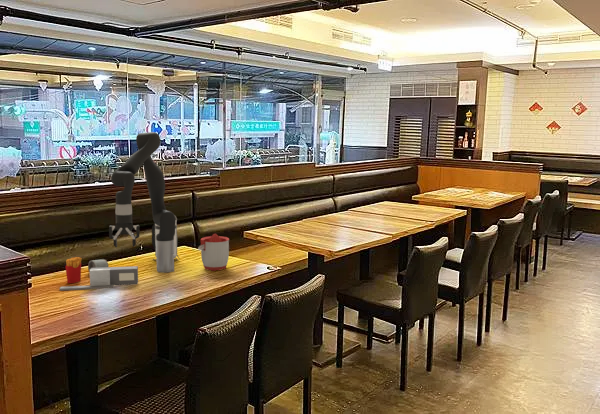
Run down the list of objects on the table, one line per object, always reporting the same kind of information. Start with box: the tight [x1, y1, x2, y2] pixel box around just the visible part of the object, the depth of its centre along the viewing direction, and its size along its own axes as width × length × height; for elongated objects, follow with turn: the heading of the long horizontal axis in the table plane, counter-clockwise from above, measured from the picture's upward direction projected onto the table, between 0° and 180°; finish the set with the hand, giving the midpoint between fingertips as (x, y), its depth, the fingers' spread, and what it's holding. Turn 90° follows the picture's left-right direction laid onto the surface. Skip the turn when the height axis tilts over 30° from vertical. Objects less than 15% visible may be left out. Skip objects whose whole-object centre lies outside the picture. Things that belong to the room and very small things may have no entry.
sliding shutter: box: [89, 269, 110, 286], centre depth 258 cm, size 9×1×8 cm, turn 103°
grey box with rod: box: [59, 265, 139, 292], centre depth 261 cm, size 35×10×8 cm, turn 103°
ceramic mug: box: [87, 259, 110, 274], centre depth 284 cm, size 11×8×8 cm
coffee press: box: [151, 214, 180, 261], centre depth 313 cm, size 17×16×30 cm
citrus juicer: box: [197, 233, 230, 272], centre depth 296 cm, size 16×17×20 cm
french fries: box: [65, 256, 82, 284], centre depth 268 cm, size 8×4×12 cm, turn 152°
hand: (124, 246), depth 258 cm, fingers open, 7 cm apart
